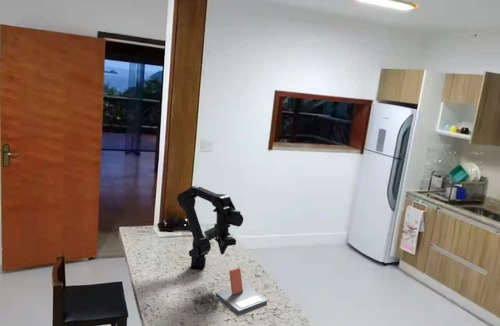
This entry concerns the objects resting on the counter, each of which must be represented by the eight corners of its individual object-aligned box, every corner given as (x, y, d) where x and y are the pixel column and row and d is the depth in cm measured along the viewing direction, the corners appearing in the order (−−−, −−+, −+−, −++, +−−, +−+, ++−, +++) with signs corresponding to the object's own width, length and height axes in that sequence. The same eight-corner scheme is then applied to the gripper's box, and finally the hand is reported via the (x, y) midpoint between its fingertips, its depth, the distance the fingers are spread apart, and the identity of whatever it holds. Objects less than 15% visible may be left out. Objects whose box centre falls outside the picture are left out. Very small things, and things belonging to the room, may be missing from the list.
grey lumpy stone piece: (199, 315, 160) (199, 305, 159) (190, 305, 166) (190, 296, 165) (221, 308, 166) (222, 299, 166) (211, 299, 172) (212, 290, 171)
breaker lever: (231, 294, 174) (228, 270, 175) (241, 291, 178) (238, 267, 179) (233, 295, 173) (230, 271, 174) (243, 291, 177) (241, 268, 178)
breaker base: (215, 296, 175) (216, 292, 174) (243, 286, 185) (243, 283, 185) (238, 314, 163) (239, 310, 163) (266, 303, 174) (267, 299, 173)
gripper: (199, 218, 190) (199, 250, 193) (213, 229, 174) (213, 263, 176) (221, 216, 195) (220, 247, 198) (236, 226, 179) (236, 260, 181)
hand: (222, 254), depth 188 cm, fingers closed
